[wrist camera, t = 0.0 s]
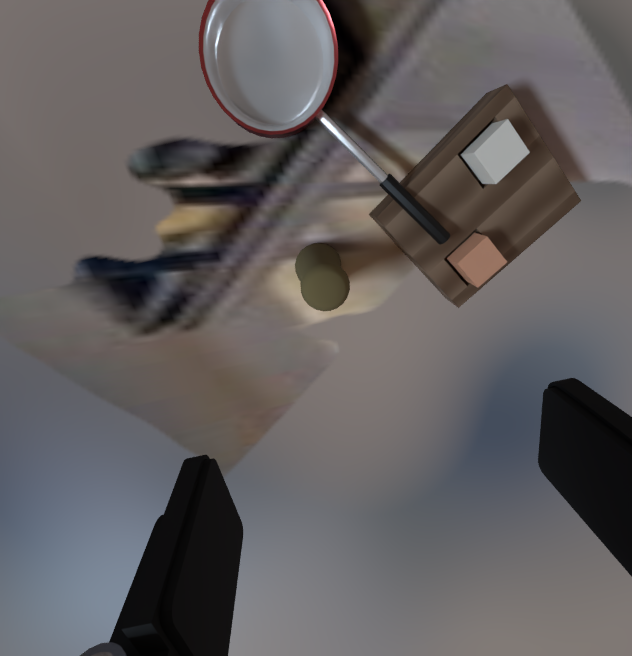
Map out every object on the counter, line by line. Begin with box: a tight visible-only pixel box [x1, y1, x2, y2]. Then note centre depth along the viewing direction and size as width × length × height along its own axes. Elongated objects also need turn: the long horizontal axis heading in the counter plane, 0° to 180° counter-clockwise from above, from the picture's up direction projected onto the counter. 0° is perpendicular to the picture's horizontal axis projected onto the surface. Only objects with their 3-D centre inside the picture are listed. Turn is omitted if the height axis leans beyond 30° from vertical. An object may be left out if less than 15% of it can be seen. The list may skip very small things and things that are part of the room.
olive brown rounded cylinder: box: [295, 243, 350, 311], centre depth 40 cm, size 6×6×11 cm
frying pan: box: [199, 0, 450, 244], centre depth 37 cm, size 32×13×6 cm, turn 54°
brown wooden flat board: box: [369, 84, 581, 308], centre depth 42 cm, size 16×18×4 cm
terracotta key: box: [447, 233, 507, 288], centre depth 41 cm, size 4×4×3 cm
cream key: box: [461, 119, 530, 184], centre depth 37 cm, size 4×4×3 cm
